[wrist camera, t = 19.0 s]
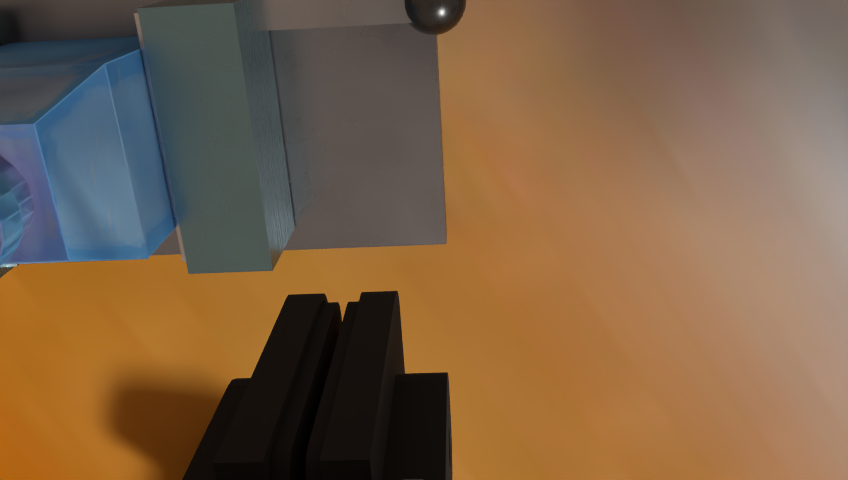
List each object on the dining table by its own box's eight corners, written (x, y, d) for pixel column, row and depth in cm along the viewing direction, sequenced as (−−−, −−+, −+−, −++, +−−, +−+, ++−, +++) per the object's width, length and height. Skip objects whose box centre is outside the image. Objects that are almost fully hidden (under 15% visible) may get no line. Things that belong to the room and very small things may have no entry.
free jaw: (464, -39, 26) (466, -32, 23) (473, 221, 30) (475, 263, 26) (165, -21, 27) (120, -12, 23) (210, 231, 30) (177, 274, 27)
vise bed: (432, -50, 27) (428, -44, 23) (446, 234, 31) (445, 288, 27) (-105, -19, 28) (-213, -6, 24) (-21, 252, 33) (-100, 307, 28)
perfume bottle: (205, 194, 30) (60, 354, 19) (53, 201, 30) (-176, 361, 19) (176, 33, 28) (-8, 109, 17) (12, 42, 28) (-276, 123, 17)
